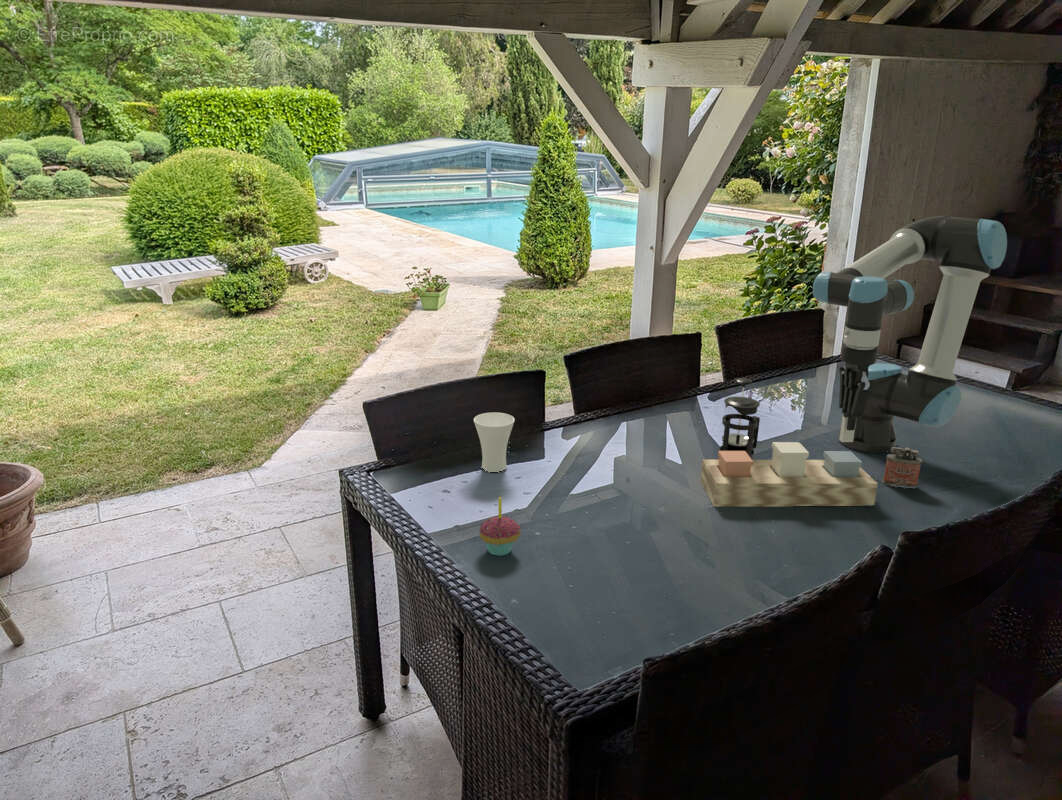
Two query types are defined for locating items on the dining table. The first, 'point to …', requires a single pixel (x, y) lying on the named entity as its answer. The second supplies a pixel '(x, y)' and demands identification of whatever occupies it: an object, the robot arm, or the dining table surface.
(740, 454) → the terracotta key
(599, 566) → the dining table surface
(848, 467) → the slate key
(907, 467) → the lighter
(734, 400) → the french press
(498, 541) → the cupcake
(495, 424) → the cup
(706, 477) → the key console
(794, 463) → the cream key
